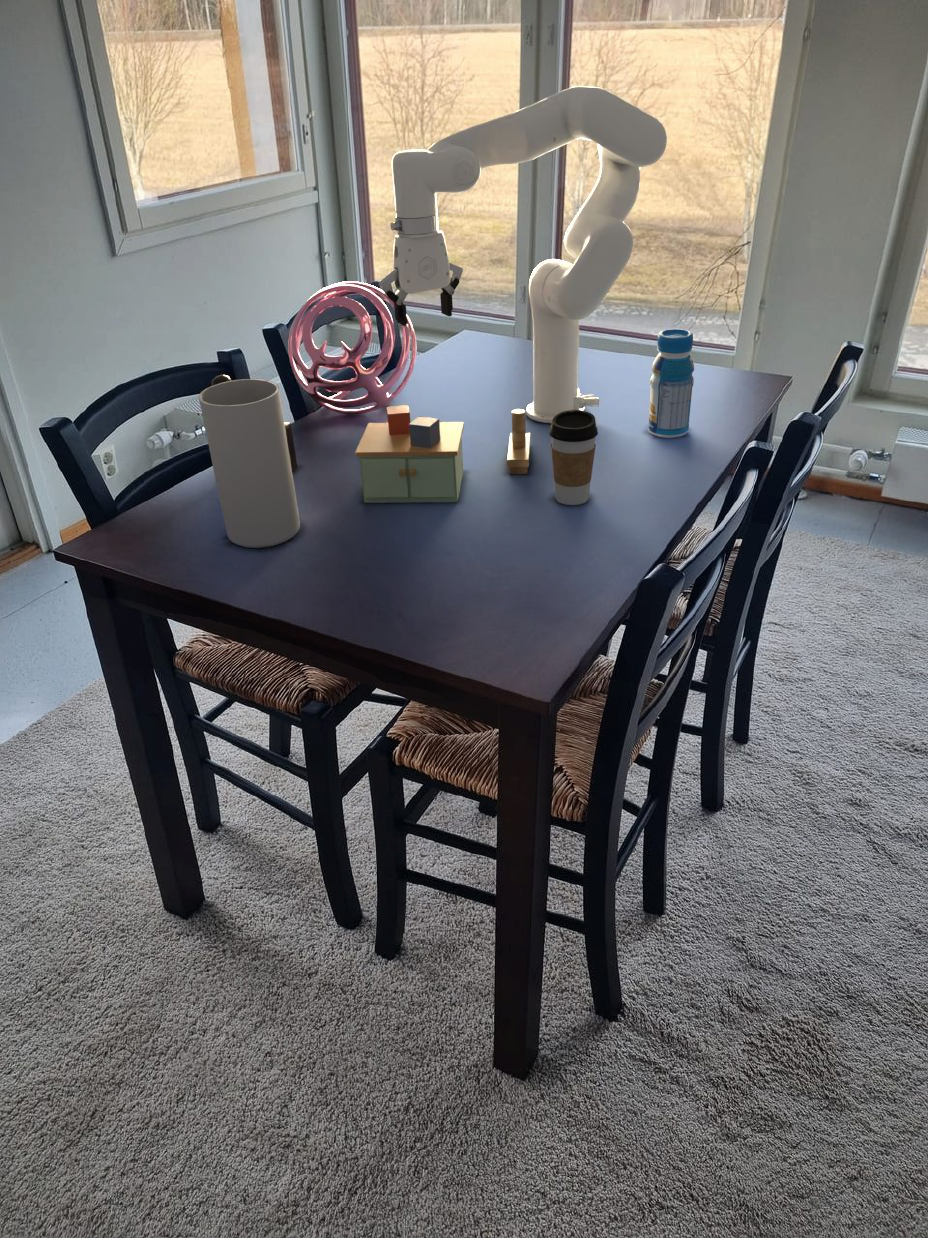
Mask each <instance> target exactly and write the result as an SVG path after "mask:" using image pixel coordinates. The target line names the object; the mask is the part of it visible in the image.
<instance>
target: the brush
mask: <svg viewBox="0 0 928 1238" xmlns="http://www.w3.org/2000/svg"><path fill="white" fill-rule="evenodd" d="M526 416H527V415H526V409H524V408H523V409H522V408H515V409H512V410H511V432H510V433H509V441H508V450H507V459H506V462H507V463H506V464H507V468H508V474H509V475H527V474H528V468H529V466H530V451H531V450H530V449H531V432H527V431H526V430H527V429H526V428H527V427H526V425H527V424H526V422H527V421H526Z"/></svg>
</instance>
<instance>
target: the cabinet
mask: <svg viewBox="0 0 928 1238" xmlns="http://www.w3.org/2000/svg"><path fill="white" fill-rule="evenodd" d="M439 423H440V439H441V440H440V441H439V442H438V443H436V444H435V445H434V446H433V447H432V448H425V447H418V446H411V444H410V434H399V435H389V429H388V422H368V423H367V426H366V427H365V430H364V432H363V435H362V437H361V439H360V440H359V444H358V445H357V448H356V450H355V452H354V454H355V457H358V460H359V466H360V467H359V468H360V476H361V486H362V494H363V502H364V503H365V504H366V503H367V504H368V503H369V504H370V503H371V504H373V503H375V504H376V503H378V504H379V503H380V504H381V503H383V504H384V503H387V504H389V503H458V501H459V496H460V491H461V486H462V482H463V481H462V480H463V476H464V459H463V457H464V455H463V432H464V427H465V422H464V421H439Z"/></svg>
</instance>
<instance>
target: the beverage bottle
mask: <svg viewBox="0 0 928 1238" xmlns="http://www.w3.org/2000/svg"><path fill="white" fill-rule="evenodd" d="M656 341H657V342H656V350H657V352H658V354H657V355H656V357H655V359H654V360H653V362H652V365H651V372H652V375H651V377H650V381H649V385H650V395H649V396H650V397H649V411H648V413H649V414H648V424H647V430H648V432H649V433H650V434H651V435H653V436H656V437H658V438H666V439H674V438H680V437H683V436H685V435H686V434H687V433H688V432H689V429H690V418H691V417H690V415H691V406H692V396H693V395H692V394H693V387H694V384H695V383H694V382H695V379H694V376H693V373H694V371H695V364H694V361H693V359H692V355H690V353H691V352H692V350H693V345H694V334H693V332H692V331H691V330H687V329H682V328H668V329H664V330H661V331H659V332H658V333H657V340H656Z"/></svg>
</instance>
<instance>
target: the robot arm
mask: <svg viewBox="0 0 928 1238" xmlns="http://www.w3.org/2000/svg"><path fill="white" fill-rule="evenodd" d="M667 137H668V136H667V131H666V129H665V126H664V125H663V123H662V122H661V120H659V119H658V117H656V116H654V115H652V114H651V113H649V112H647V111H645V110H643V109H641V108H640V107H638V106H637V105H634V104H632V103H631V102H629V101H627V100H626V99H624V98H622V97H621V96H619V95H617V94H615V93H614V92H612V91H610V90H608V89H605V88H603V87H598V86H597V87H596V86H588V85H587V86H586V85H575V86H572V87H571V86H570V87H568V88H566V89H562V90H560V91H559V92H557V93H554V94H552V95H550V96H548V97H545V98H543V99H541V100H539V101H536V102H534V103H533V104H530V105H527V106H525V107H523V108H521V109H518V110H516V111H514V112H511V113H509V114H505V115H502V116H499V117H497V118H494V119H491V120H488V121H485V122H482V123H479V124H476V125H473V126H470V127H467V128H465V129H463V130H460V131H458V132H455V133H453V134H451V135H448V136H446V137H444V138H442V139H440V140H438V141H436V142H434V143H432V145H430V146H429V147H428V148H427V150H426V149H407V150H401V151H397V152H396V153H395V154H394V155H393V156H392V159H391V170H392V182H393V193H394V194H393V195H394V196H393V197H394V206H395V217H394V219H395V221H394V222H391V223H390V229H391V231H393V232H394V231H395V232H396V233H397V234H395V235H394V239H393V240H394V242H393V254H392V255H393V257H392V258H393V259H392V262H393V263H392V266H393V269H392V271H390V272H389V273H388V274H387V275H385V276H384V277H383V278H382V279H381V280H380V281H378V286H379V288H380V290H382V291H383V292H384V294H385V296H386V297H388V298H389V299H390V300H391V301H392V302H394V308H393V310H394V309H395V310H394V318H395V320H396V321H397V324H399V325H400V326H401V325H403V326H406V325H407V316H408V314H407V305H406V304H405V303H404V301H405V300H406V298H407V296H408V295H409V294H411V295H412V294H413V295H414V294H419V293H424V292H430V291H435V290H439V289H440V290H441V291H442V292H440V294H439V296H440V299H439V300H440V311H441V314H442V315H445V316H446V317H452V316H453V309H454V304H453V295H454V294H455V290H456V289H457V287H458V285H460V279H461V278H462V274H463V272H464V269H463V268H462V267H461V266H459V265H456V264H453V263H451V262H450V259H449V251H448V248H447V247H448V246H447V243H446V238H445V235H444V231H443V230H442V229H441V230H439V220H438V219H439V217H438V205H437V193H441V194H442V193H445V194H447V193H449V194H461V193H466V192H468V191H470V190H472V189H473V188H474V187H475V186H476V184H477V183H478V181H479V180H480V177H481V173H482V169H486V168H490V167H494V166H501V165H517V164H522V163H527V162H530V161H533V160H535V159H537V158H539V157H542V156H544V155H546V154H548V153H549V152H552V151H554V150H556V149H559V148H561V147H564V146H565V145H567V144H570V143H572V142H574V141H577V140H581V139H582V140H586V141H591V142H593V143H595V144H597V150H598V154H599V163H600V166H599V167H600V168H599V175H598V178H597V181H596V183H595V185H594V187H593V188H592V190H591V192H590V194H589V195H588V197H587V198H586V200H585V202H584V203H583V204H582V206H581V208H579V211H578V212H577V213H576V215H575V216H574V218H573V220H572V221H571V223H570V225H569V226H568V228H567V229H566V231H565V235H564V239H563V244H564V248H565V251H566V252H567V254H568V255H569V256H570V257H571V258H573V259H574V260H575V261H574V263H573V264H572V263H570V262H568V261H565V260H561V259H556V258H552V259H551V258H550V259H546V260H544V261H542V262H540V263H539V264H537V266H536V267H535V268H534V269H533V271H532V273H531V275H530V277H529V283H528V295H529V296H528V297H529V303H530V304H529V305H530V309H531V317H532V318H531V319H532V390H533V391H532V398H533V399H532V402H531V403H529V404H528V405H527V406H526V408H525V415H526V416H527V417H528V418H529V419H531V420H533V421H536V422H539V423H544V424H552V420H553V418H554V417H555V416H556V415H557V414H559V413H561V412H564V411H568V410H582V411H586V409H585V407H592V408H597V407H598V408H599V407H600V397H594V394H582V393H580V388H579V357H580V355H579V354H580V323H579V322H580V320H584V319H586V318H587V317H589V316H591V314H593V313H594V312H595V311H596V310H597V308H598V307H599V306H600V305H601V303H602V301H603V300H604V299H605V297H606V296H607V294H608V293H609V291H610V290H611V289H612V287H613V286H614V285H615V283H616V282H617V280H618V278H619V277H620V275H621V274H622V272H623V270H624V269H625V268H626V266H627V264H628V262H629V260H630V258H631V256H632V252H633V246H634V238H633V234H632V230H631V229H630V227H629V226H628V224H626V223H625V221H626V219H627V217H628V216H629V215H630V212H631V211H632V209H633V207H634V206H635V204H636V201H637V199H638V196H639V193H640V188H641V168H647V167H650V166H653V165H654V164H656V163H657V162H658V161H659V160H660V159H661V158H662V157H663V155H664V154H665V151H666V148H667V145H668V144H667V143H668V138H667ZM451 273H452V276H451ZM392 283H394V287H395V290H394V291H392V289H391V287H390V286H391V284H392Z"/></svg>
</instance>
